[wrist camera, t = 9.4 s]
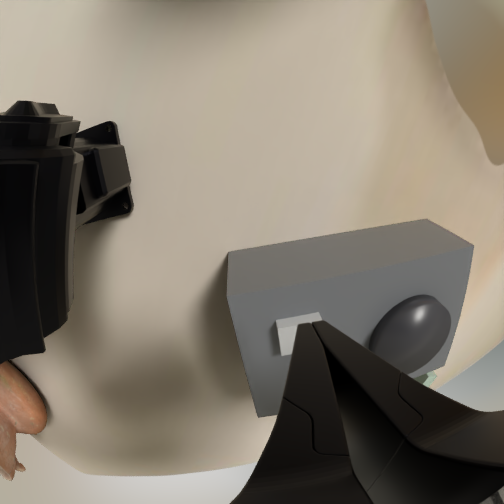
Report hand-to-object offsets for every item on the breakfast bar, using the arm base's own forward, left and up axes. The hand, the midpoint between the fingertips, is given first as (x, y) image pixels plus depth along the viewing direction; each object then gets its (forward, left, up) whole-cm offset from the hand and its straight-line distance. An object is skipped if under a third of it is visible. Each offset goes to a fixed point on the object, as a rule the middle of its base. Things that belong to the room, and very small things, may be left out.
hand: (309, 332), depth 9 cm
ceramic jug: (-37, -14, -12) cm, 41 cm away
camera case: (+5, -7, -12) cm, 15 cm away
